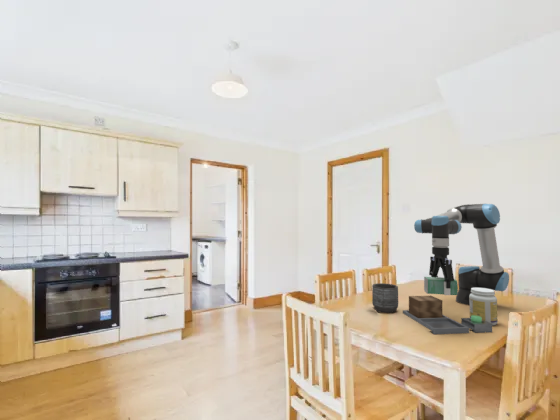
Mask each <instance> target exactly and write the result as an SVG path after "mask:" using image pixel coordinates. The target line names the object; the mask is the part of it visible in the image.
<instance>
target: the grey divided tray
mask: <svg viewBox="0 0 560 420" xmlns="http://www.w3.org/2000/svg"><path fill="white" fill-rule="evenodd" d="M402 314H404V315H405V316H407V317H408V318H410V319H412V320H413V321H415V322H416V323H418V324H420V325H422V326H423V327H424V328H426V329H428V330H430V331H429V332H430V333H431V334H432V335H450V334H451V335H452V334H470V328H469V327H467V326H465V325H463V324H461V322H458V321H456V320H455V319H452V318H450V317H448V316H446V315H444V314H442V316H443V318H417V317H415V316H413V315H412V314H410V313H409V309H405V310H402Z"/></svg>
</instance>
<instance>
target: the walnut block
mask: <svg viewBox="0 0 560 420" xmlns="http://www.w3.org/2000/svg"><path fill="white" fill-rule="evenodd" d="M408 310H409V313H410V314H412V315H413V316H415V317H417V318H443V316H442V315H443V299H440V298H439V297H435V296H432V295H408Z"/></svg>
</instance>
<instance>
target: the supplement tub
mask: <svg viewBox="0 0 560 420" xmlns="http://www.w3.org/2000/svg"><path fill="white" fill-rule="evenodd" d="M471 292H472V293H471V294H470V295H469V305H468V306H469V318H471V315H476V316H480V317H482V320H485V321H487V322H489V323H492V327H493V326H496V325H497V324H498V322H499V321H498V319H499V318H498V298H497V296H496V291H495V290H492V289H487V288H471Z"/></svg>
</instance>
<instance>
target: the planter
mask: <svg viewBox="0 0 560 420" xmlns="http://www.w3.org/2000/svg"><path fill="white" fill-rule="evenodd" d="M371 288H372V289H371V290H372V291H371V292H372V293H371V294H372V295H371V296H372V300H371V302H372V306H373V308H374V309H375V310H376V312H377V313H378V314H379V313H384V314H386V313H387V314H391V313H396V311H397V309H398V308H399V286H398V285H396V284H392V283H386V282H385V283H383V282H382V283H381V282H380V283H379V282H377V283H372V286H371Z"/></svg>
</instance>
